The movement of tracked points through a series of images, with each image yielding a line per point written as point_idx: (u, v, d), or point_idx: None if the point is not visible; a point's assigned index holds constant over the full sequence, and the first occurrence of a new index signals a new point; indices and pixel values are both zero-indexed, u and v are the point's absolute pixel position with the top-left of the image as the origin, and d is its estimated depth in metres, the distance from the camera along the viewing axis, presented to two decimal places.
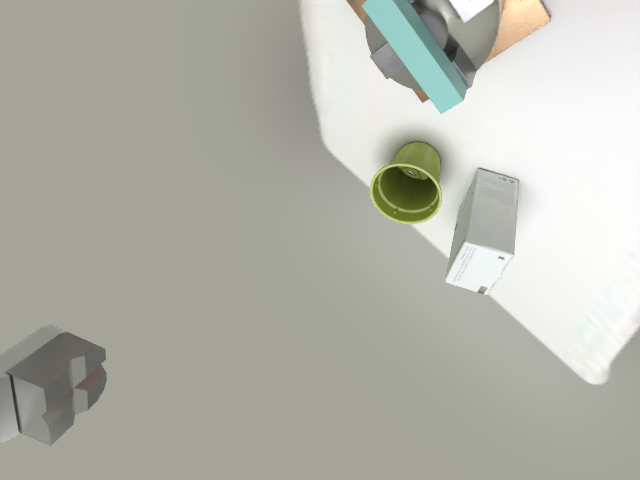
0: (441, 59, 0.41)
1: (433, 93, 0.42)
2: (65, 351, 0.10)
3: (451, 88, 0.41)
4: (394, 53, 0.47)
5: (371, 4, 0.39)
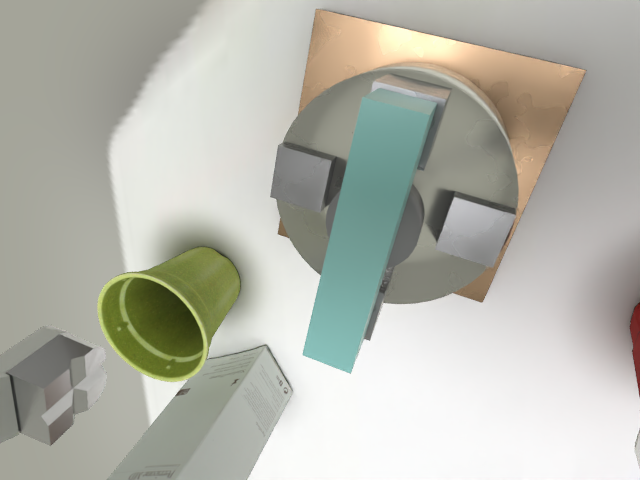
0: (378, 289, 0.20)
1: (322, 324, 0.20)
2: (65, 351, 0.10)
3: (352, 345, 0.20)
4: (314, 180, 0.24)
5: (379, 115, 0.16)
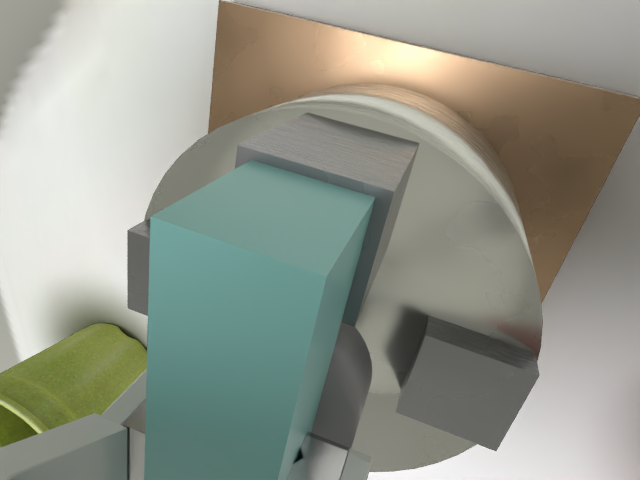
0: None
1: None
2: None
3: None
4: None
5: (199, 264, 0.06)
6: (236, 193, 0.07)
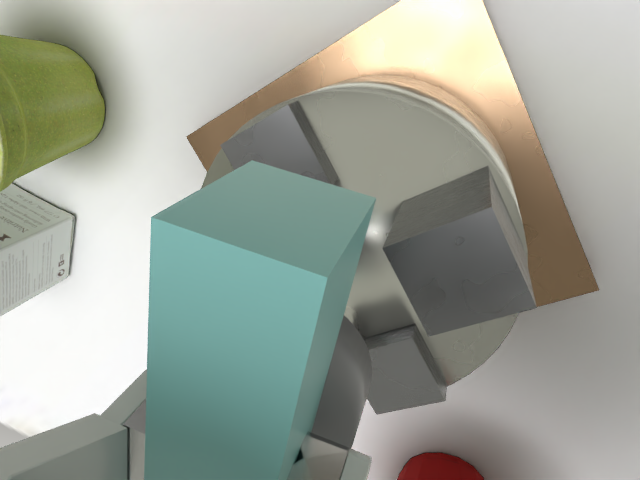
0: None
1: None
2: None
3: None
4: None
5: (200, 264, 0.06)
6: (237, 193, 0.07)
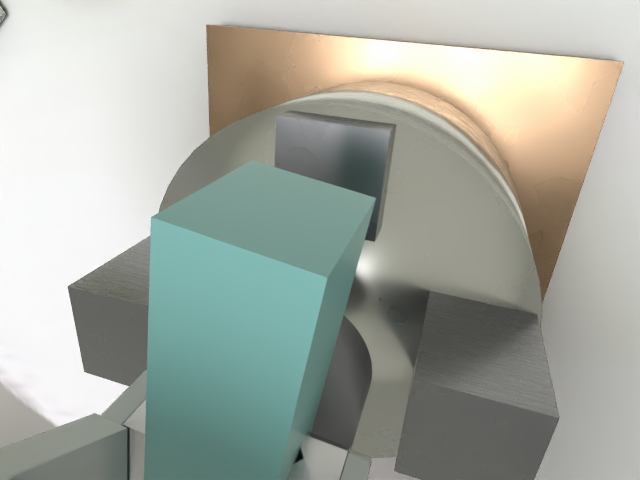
0: None
1: None
2: None
3: None
4: None
5: (200, 264, 0.06)
6: (237, 193, 0.07)
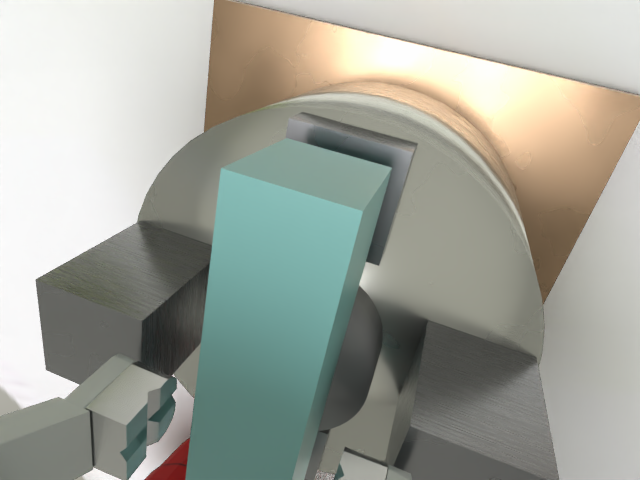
0: None
1: None
2: (140, 383, 0.10)
3: None
4: None
5: (259, 206, 0.07)
6: (281, 158, 0.09)
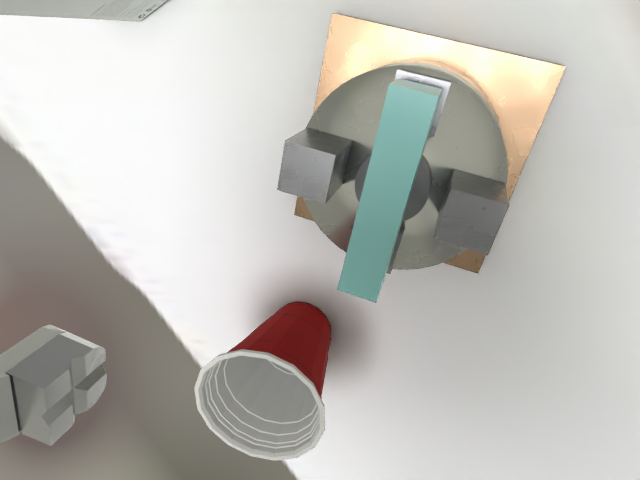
0: (397, 235, 0.26)
1: (354, 263, 0.26)
2: (65, 351, 0.10)
3: (378, 279, 0.26)
4: None
5: (402, 96, 0.22)
6: (403, 83, 0.23)
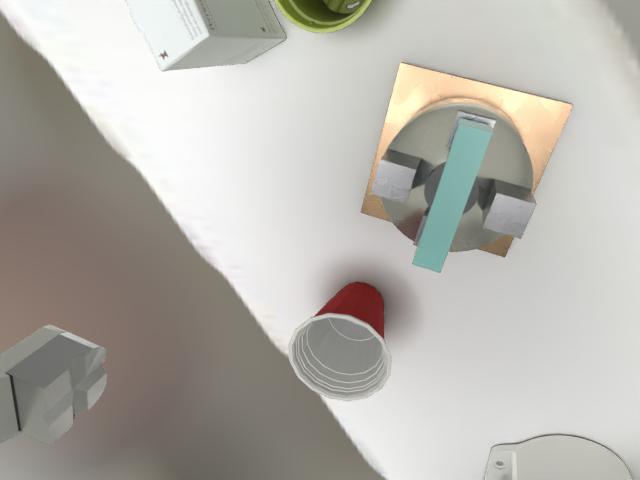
0: None
1: (426, 244, 0.37)
2: (65, 351, 0.10)
3: (443, 256, 0.37)
4: None
5: (467, 132, 0.33)
6: (466, 122, 0.34)
